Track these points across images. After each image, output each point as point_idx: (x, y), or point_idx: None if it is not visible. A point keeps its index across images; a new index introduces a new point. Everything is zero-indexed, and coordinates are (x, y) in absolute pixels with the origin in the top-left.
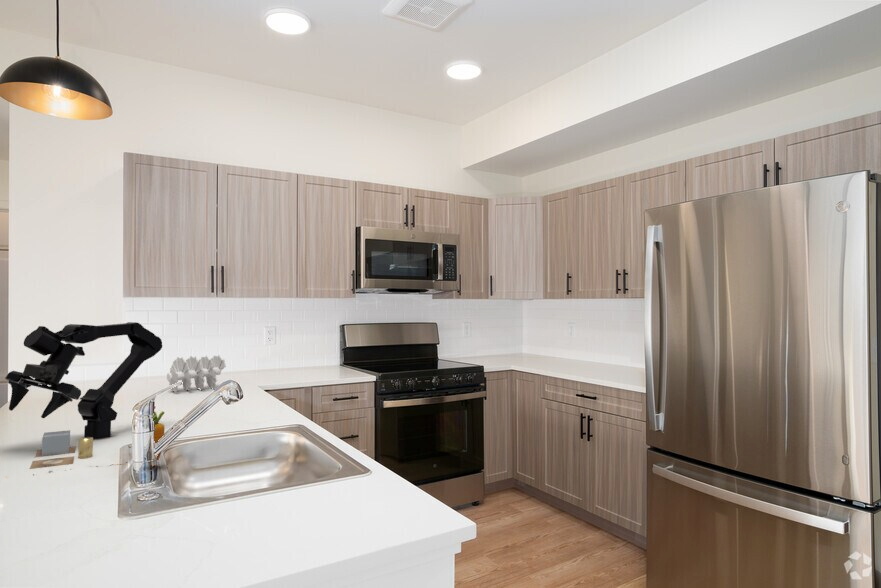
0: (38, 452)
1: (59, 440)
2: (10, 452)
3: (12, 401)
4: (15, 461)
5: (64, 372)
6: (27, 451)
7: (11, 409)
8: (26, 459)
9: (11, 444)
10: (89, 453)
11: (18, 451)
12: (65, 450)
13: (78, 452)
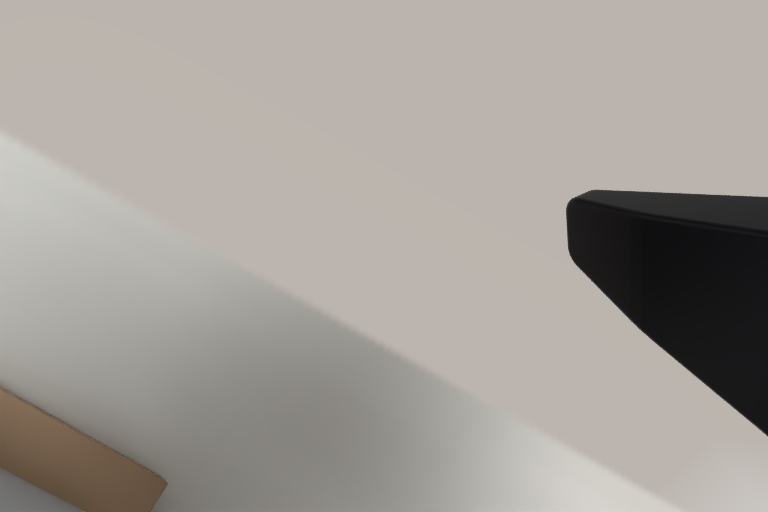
0: (64, 448)
1: None
2: (413, 382)
3: (713, 211)
4: (70, 237)
5: None
6: (335, 472)
7: (574, 231)
8: (46, 322)
9: (618, 501)
10: None
11: (394, 431)
12: None
13: None
